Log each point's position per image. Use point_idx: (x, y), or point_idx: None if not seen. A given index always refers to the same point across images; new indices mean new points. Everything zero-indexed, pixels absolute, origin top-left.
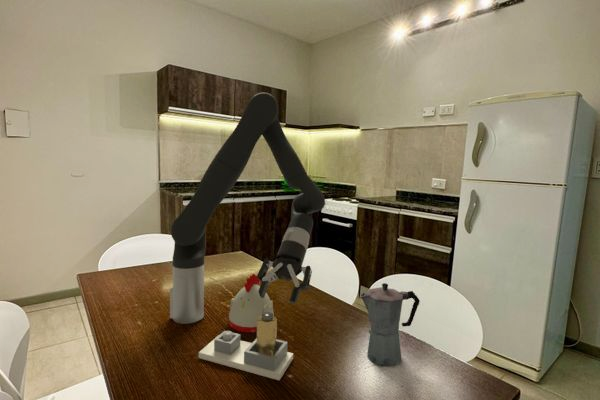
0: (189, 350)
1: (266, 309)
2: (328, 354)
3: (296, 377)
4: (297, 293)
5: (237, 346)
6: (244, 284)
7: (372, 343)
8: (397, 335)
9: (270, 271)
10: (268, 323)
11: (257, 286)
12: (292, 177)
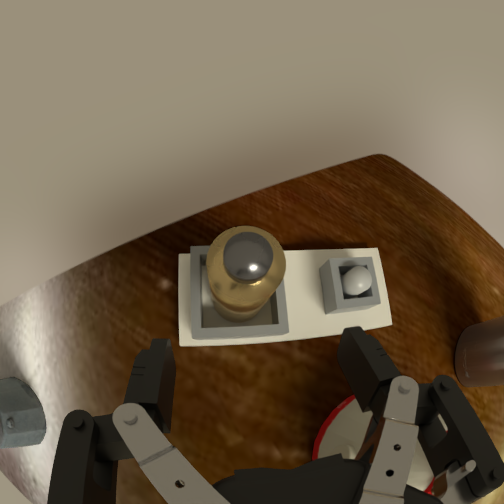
0: (400, 265)
1: (342, 456)
2: (110, 395)
3: (150, 283)
4: (130, 382)
5: (325, 299)
6: None
7: (11, 398)
8: None
9: (411, 435)
10: (226, 236)
11: (420, 479)
12: None
